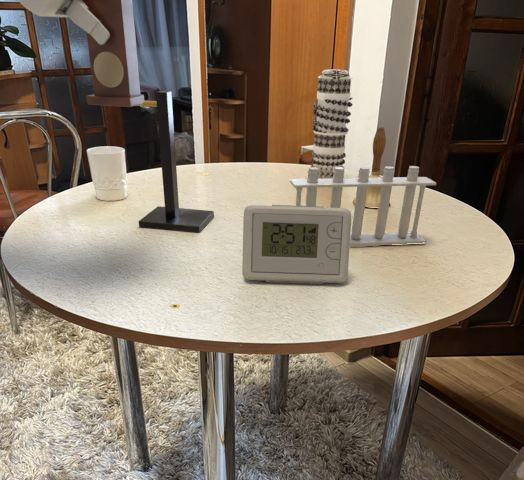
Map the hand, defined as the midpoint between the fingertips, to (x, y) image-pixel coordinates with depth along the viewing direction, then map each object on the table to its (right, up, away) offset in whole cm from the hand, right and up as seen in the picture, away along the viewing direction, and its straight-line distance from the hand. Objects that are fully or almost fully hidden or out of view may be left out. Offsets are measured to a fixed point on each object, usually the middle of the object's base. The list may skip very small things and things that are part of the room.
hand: (116, 40), depth 64 cm
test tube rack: (+35, -20, +29) cm, 50 cm away
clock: (-1, -6, +4) cm, 7 cm away
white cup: (-15, -5, +50) cm, 53 cm away
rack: (+1, -14, +37) cm, 39 cm away
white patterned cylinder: (+35, +4, +66) cm, 75 cm away
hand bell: (+43, -6, +50) cm, 66 cm away
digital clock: (+23, -28, +15) cm, 39 cm away
